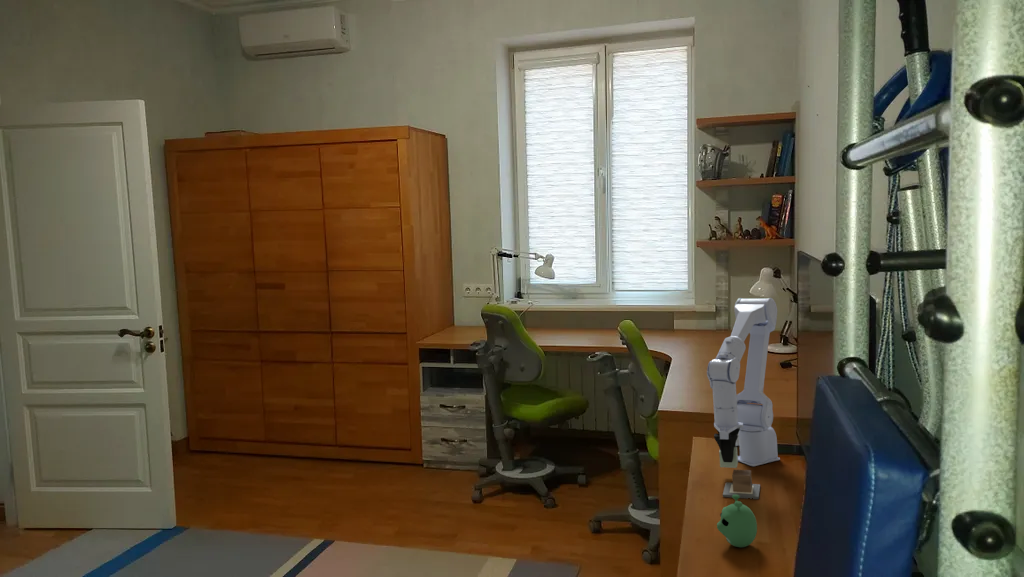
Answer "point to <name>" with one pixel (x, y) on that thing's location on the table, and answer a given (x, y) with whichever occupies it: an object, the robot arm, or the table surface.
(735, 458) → the sage block
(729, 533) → the alien toy
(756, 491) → the grey flat square tile
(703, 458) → the table surface
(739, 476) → the walnut block
